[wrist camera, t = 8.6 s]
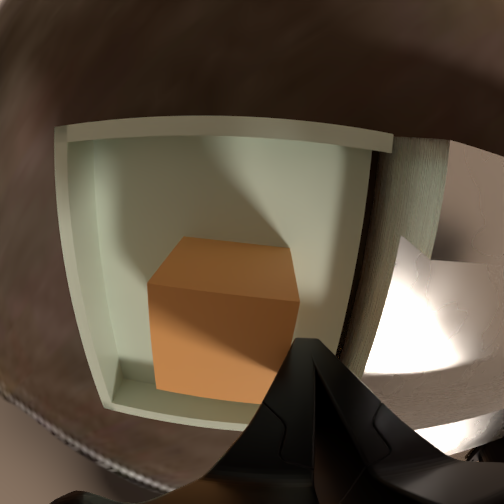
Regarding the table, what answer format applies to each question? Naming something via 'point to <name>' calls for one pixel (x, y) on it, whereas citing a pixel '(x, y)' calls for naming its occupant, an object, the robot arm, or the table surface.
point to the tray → (202, 230)
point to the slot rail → (434, 292)
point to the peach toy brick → (222, 318)
